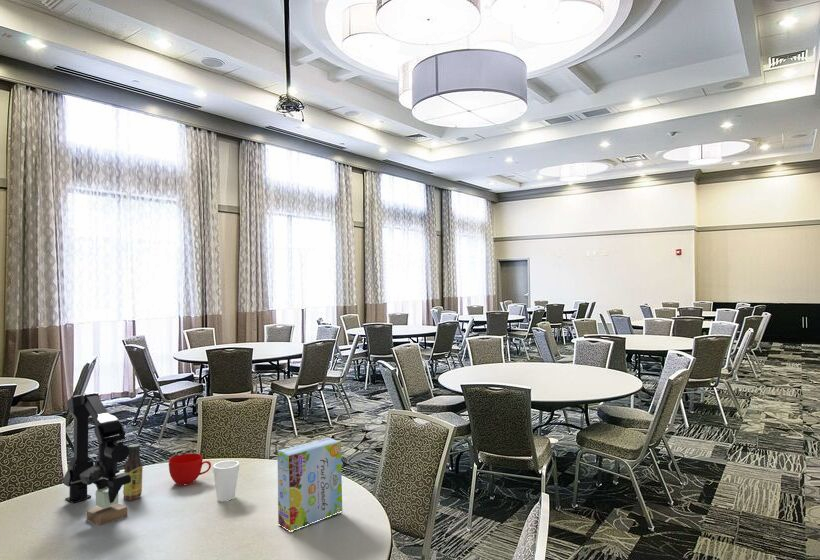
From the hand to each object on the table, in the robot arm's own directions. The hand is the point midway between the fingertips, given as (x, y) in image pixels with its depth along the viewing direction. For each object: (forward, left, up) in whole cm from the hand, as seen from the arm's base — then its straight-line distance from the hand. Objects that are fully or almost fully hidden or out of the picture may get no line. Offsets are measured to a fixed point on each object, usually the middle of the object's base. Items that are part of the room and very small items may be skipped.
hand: (107, 500), depth 180 cm
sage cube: (0, 0, -1) cm, 1 cm away
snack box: (+63, +34, -6) cm, 72 cm away
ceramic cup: (-3, +36, -6) cm, 37 cm away
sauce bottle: (-9, +15, -6) cm, 18 cm away
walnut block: (0, 0, -6) cm, 6 cm away
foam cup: (+23, +32, -6) cm, 40 cm away
